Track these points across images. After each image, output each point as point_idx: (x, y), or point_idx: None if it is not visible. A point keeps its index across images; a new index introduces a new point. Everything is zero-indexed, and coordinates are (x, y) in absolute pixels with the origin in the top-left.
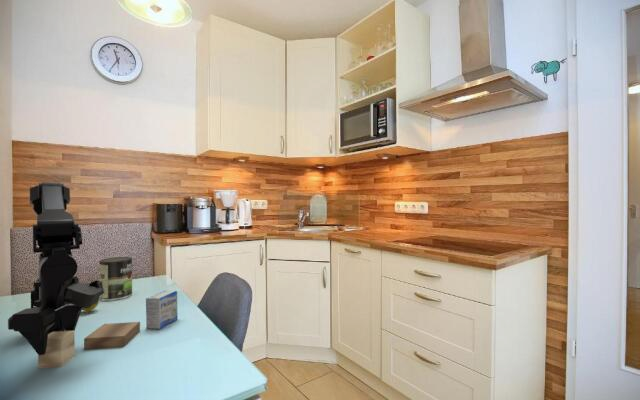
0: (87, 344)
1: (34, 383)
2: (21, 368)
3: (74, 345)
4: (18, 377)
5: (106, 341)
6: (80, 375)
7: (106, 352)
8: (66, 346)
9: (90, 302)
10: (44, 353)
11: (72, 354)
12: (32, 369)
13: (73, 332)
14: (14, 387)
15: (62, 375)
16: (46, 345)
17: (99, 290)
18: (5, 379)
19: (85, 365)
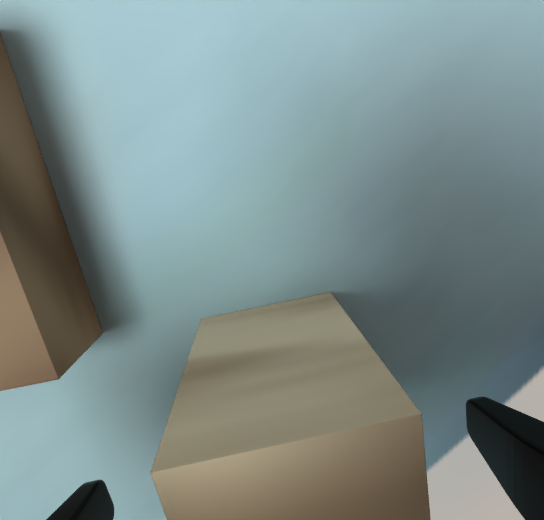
0: (79, 327)
1: (502, 287)
2: None
3: (189, 357)
4: (432, 416)
5: (16, 182)
6: (450, 69)
7: (126, 121)
8: (299, 357)
9: None
10: (486, 399)
11: (223, 323)
12: None
13: (174, 451)
14: (524, 352)
15: (437, 197)
16: (538, 443)
17: None
18: (443, 456)
19: (322, 140)
